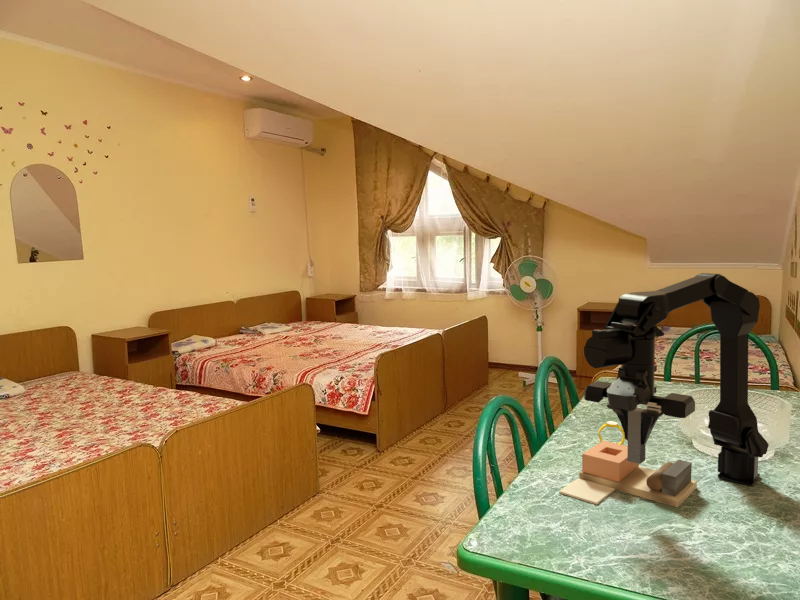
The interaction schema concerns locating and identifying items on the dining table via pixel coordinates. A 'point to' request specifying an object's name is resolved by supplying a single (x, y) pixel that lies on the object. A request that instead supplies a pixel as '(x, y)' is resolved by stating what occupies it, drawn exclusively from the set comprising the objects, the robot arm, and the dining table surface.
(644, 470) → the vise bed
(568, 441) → the dining table surface
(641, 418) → the gray rectangular bar
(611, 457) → the orange block with hole
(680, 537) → the dining table surface
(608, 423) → the watch
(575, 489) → the beige square tile
